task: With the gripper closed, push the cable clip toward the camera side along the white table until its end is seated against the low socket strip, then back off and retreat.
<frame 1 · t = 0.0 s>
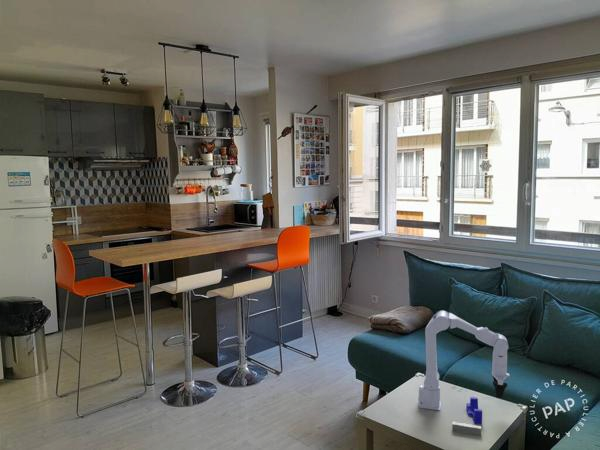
hand: (498, 393, 198), 10 cm above the table, fingers open, 7 cm apart
socket strip: (466, 432, 187), on the table
cable clip: (473, 417, 199), on the table
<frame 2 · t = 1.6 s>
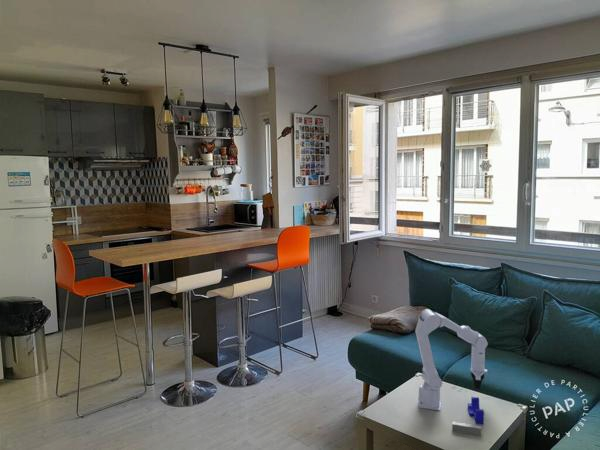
hand: (477, 388, 209), 7 cm above the table, fingers closed
nothing on the table moved.
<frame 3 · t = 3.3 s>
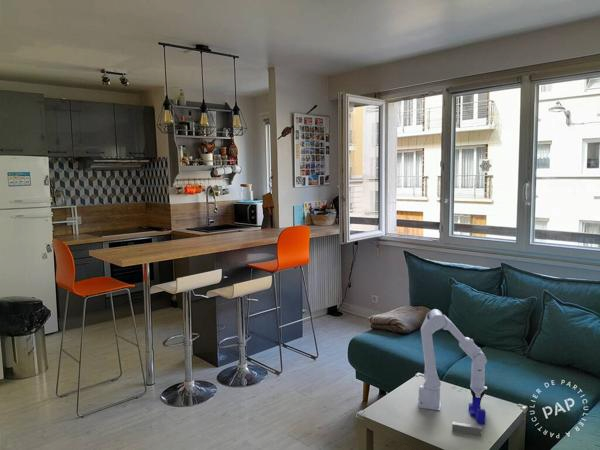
hand: (476, 405, 206), 1 cm above the table, fingers closed
cable clip: (476, 417, 198), on the table, touching gripper
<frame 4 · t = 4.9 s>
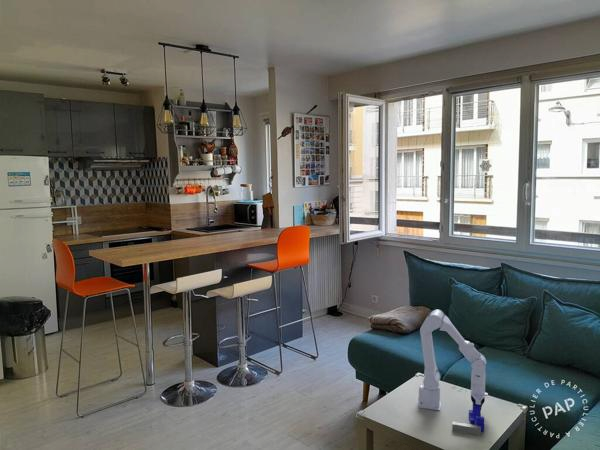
hand: (477, 412, 200), 1 cm above the table, fingers closed
cable clip: (476, 424, 192), on the table, touching gripper
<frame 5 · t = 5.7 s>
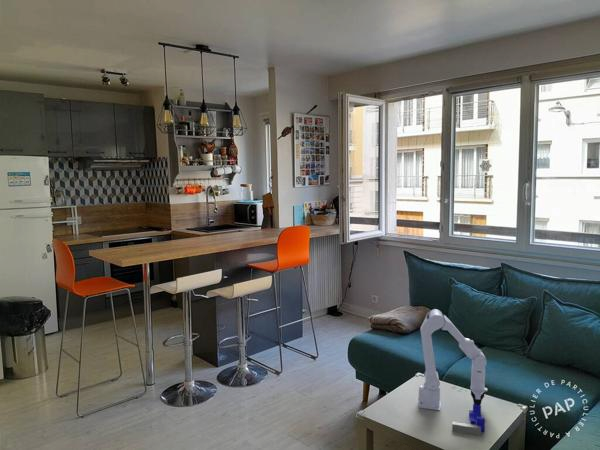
hand: (477, 407, 204), 1 cm above the table, fingers closed
cable clip: (476, 425, 192), on the table
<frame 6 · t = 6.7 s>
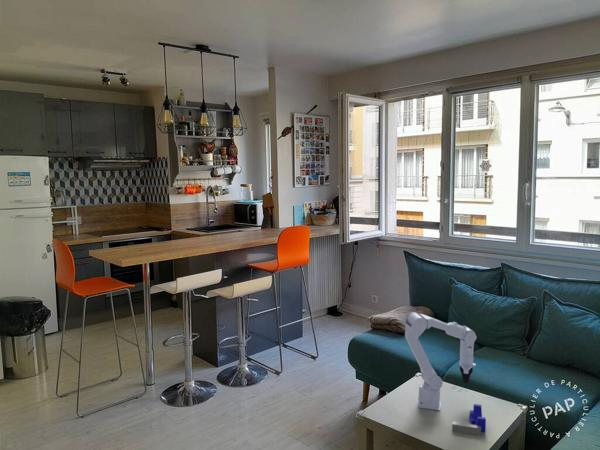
hand: (465, 382, 209), 10 cm above the table, fingers closed
nothing on the table moved.
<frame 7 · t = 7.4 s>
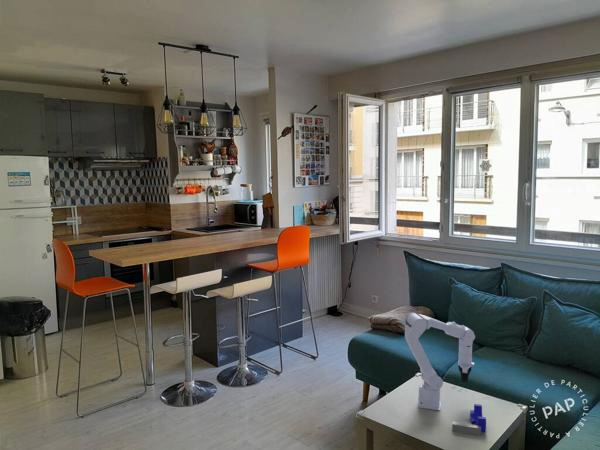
hand: (464, 381, 210), 10 cm above the table, fingers closed
nothing on the table moved.
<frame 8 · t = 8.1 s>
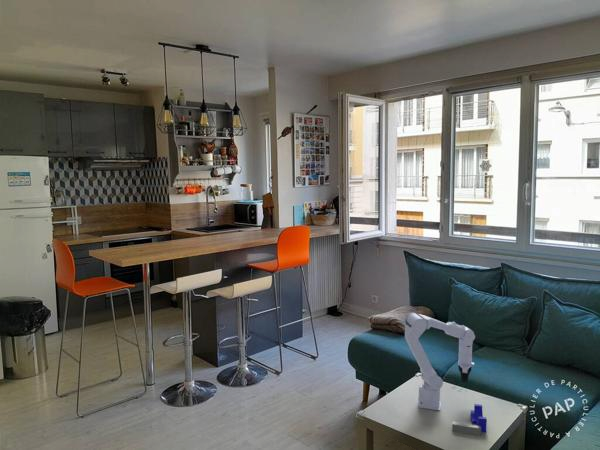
hand: (464, 381, 210), 10 cm above the table, fingers closed
nothing on the table moved.
at the end: cable clip inside the target area (0.6 cm from its centre), on the table; cable clip moved 6.2 cm from its start; cable clip tilted 0° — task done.
